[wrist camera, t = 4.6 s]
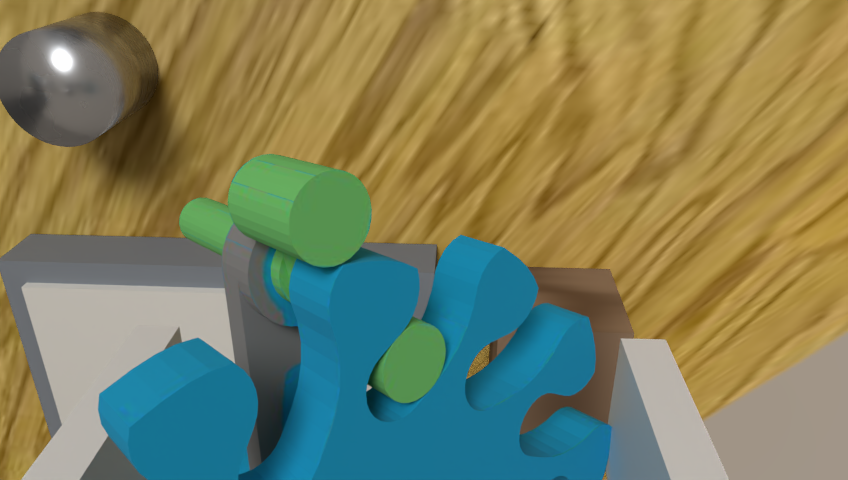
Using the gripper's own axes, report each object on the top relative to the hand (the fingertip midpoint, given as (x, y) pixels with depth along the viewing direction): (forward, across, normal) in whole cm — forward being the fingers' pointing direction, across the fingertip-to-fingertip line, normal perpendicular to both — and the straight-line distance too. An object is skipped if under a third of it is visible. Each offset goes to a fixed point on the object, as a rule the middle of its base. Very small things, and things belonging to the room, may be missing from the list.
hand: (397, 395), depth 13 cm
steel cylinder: (+17, -13, +2) cm, 21 cm away
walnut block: (+17, +5, -9) cm, 20 cm away
